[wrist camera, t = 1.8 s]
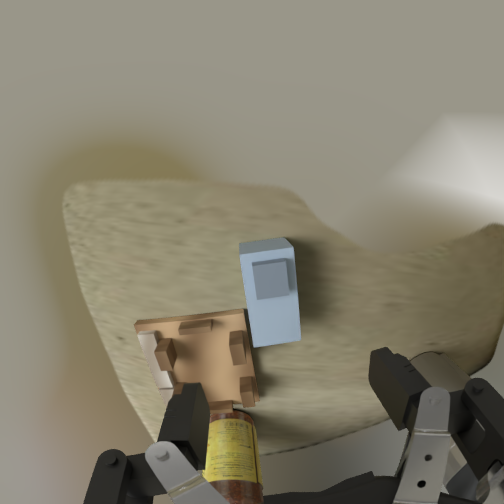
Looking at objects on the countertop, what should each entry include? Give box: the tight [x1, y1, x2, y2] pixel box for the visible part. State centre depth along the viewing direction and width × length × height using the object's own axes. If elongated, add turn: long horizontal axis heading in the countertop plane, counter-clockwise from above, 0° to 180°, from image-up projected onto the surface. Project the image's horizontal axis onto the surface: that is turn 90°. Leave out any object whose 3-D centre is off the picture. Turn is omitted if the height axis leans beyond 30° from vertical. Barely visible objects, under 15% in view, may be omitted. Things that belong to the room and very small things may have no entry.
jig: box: [134, 309, 260, 414], centre depth 25 cm, size 11×12×4 cm
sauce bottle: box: [202, 410, 263, 504], centre depth 19 cm, size 6×6×20 cm
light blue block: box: [239, 237, 301, 347], centre depth 23 cm, size 4×8×6 cm, turn 8°
